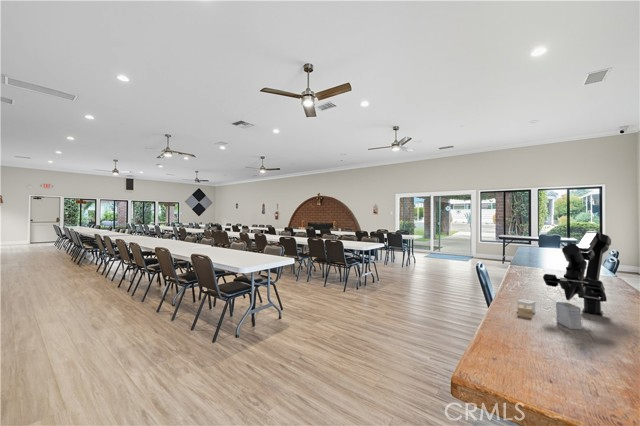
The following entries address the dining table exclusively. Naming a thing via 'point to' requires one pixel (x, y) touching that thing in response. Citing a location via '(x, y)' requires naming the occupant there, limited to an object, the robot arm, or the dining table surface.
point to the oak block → (525, 311)
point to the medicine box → (568, 315)
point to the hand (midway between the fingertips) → (567, 299)
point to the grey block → (527, 304)
